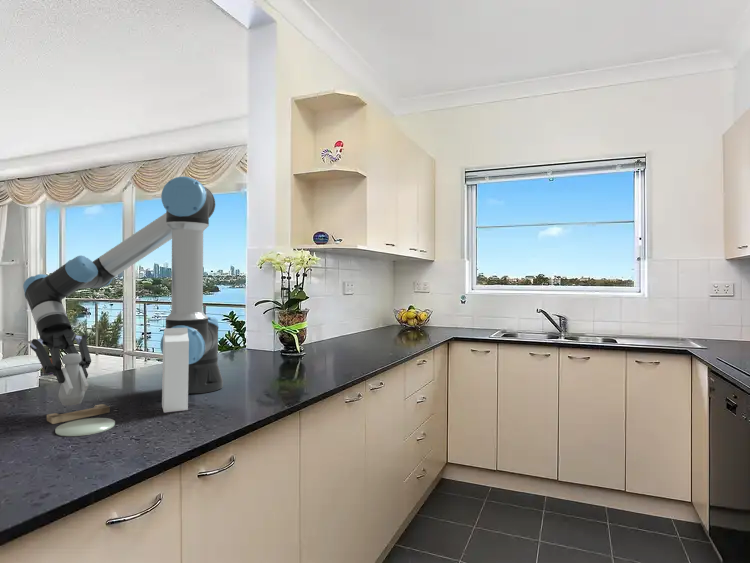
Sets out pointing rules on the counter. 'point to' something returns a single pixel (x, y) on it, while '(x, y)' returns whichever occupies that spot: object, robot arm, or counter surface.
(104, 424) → the disc
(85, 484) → the counter surface
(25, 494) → the counter surface
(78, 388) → the salt shaker
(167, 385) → the milk
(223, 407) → the counter surface
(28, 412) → the counter surface
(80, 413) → the oak holder
